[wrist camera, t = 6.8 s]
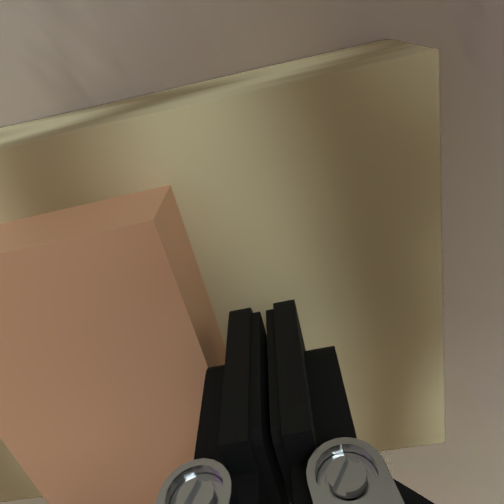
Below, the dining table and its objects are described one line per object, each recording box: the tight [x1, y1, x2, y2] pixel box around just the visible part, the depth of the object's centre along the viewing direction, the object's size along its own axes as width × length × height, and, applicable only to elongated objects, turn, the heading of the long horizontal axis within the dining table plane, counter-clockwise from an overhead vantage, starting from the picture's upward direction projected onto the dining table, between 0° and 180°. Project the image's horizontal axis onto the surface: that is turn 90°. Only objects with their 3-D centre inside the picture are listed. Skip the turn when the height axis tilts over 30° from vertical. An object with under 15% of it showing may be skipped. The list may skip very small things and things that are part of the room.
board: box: [0, 39, 445, 502], centre depth 14 cm, size 16×12×4 cm
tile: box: [0, 185, 226, 504], centre depth 12 cm, size 6×9×2 cm, turn 13°
